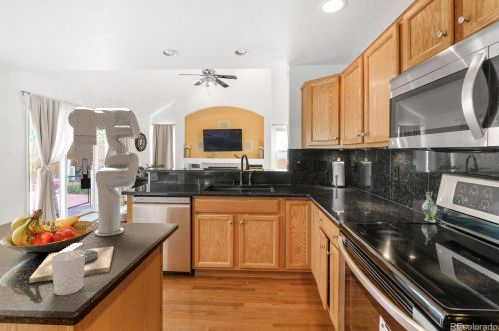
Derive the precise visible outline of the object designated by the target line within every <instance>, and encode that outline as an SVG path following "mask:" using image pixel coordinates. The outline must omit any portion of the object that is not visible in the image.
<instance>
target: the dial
mask: <svg viewBox="0 0 499 331" xmlns="http://www.w3.org/2000/svg"><path fill="white" fill-rule="evenodd" d="M70 250H82V251H85V263H88V262H91V261H93V260H95V259H96V258H97V257H98V253H97V252H96V251H94V250H85V249H84V243H83V242H82V243H81V242H79V243H77V242H75V243H71V244H70V245H69V246H66V248H64V249H62V250H61V251H59V252H58V253H61V252H64V251H70Z"/></svg>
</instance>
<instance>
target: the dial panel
mask: <svg viewBox="0 0 499 331" xmlns="http://www.w3.org/2000/svg"><path fill="white" fill-rule="evenodd" d="M114 248H115V247H114V246H105V247H96V248H88V249H84V250H94V251H96V252H97V253H98V257H97V258H96V259H95V260H93V261H91V262H88V263H85V267H84V276H87V275H94V274H95V273H96V274H101V273H102V274H103V273H108V272H110V271H111V267H112V266H111V265H112V261H113V255H114ZM50 253H51V254H50ZM50 253H49V254H48V255H47V256H46V258H45V259H44V260H43V261H42V263H41V264H39V266H38V267H37V269H36V270H35V271H34V272H33V274H32V275H31V276H29V280H28V281H29V284H33V283H38V282H46V281H53V274H52V260H51V258H52V256H54V255H55V254H58V253H59V252H50ZM96 274H95V275H96Z"/></svg>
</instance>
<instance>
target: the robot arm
mask: <svg viewBox="0 0 499 331" xmlns="http://www.w3.org/2000/svg"><path fill="white" fill-rule="evenodd" d="M67 120H68V124H69V125H70V127H71V128H72V130H73V132H72V134H73V136H72V137H73V145H76V149H75V150H76V151H75V152H76V153H75V154H76V155H75V156H76V158H75V159H76V161H75V162H76V165H75V167H76V168H75V169H76V171H78V172H79V171H80V170H81V171H80V189H81V190H90V189H91V187H92V184H91V180H92V178H91V171H92V169H93V163H94V146H97V145H98V144H97V141H98V140H97V131H103V130H105V136H106V141H107V145H108V148H107V152H106V155H105V158H104V161H103V162H104V164H103V165H104V168H100V169H98V170H97V171H96V173H95V175H94V176H95V183H96V187H97V215H98V216H97V218H98V219H97V221H98V222H97V225H98V227H97V229H96V230H95V231H94V236H97V237H109V236H110V237H111V236H115V235H116V236H117V235H120V234H122V233H124V231H125V229H124V227H121V196H120V193H119V191H118V190H117V189H116V188H118V189H119V188H123V189H124V188H125V189H127V188H132V187H134V186H135V182H136V180H137V175H138V170H139V164H140V161H139V156H138V154H137V153H134V152H130V151H129V152H128V151H127V147H126V145H125V144H124V143H123V142H122V141H121V140H123V139H124V140H129V139H130V140H135V139H138V138H139V137H140V136H141V128H140V127H141V126H140V124H139V122H138V118H137V116H136V114H135V112H134V111H133V110H132V109H128V108H111V107H110V108H96V109H95V108H94V109H92V108H90V107H89V108H87V107H75V108H74V109H73V110H72V111H70V112H69V114H68V116H67ZM120 139H121V140H120Z"/></svg>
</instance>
